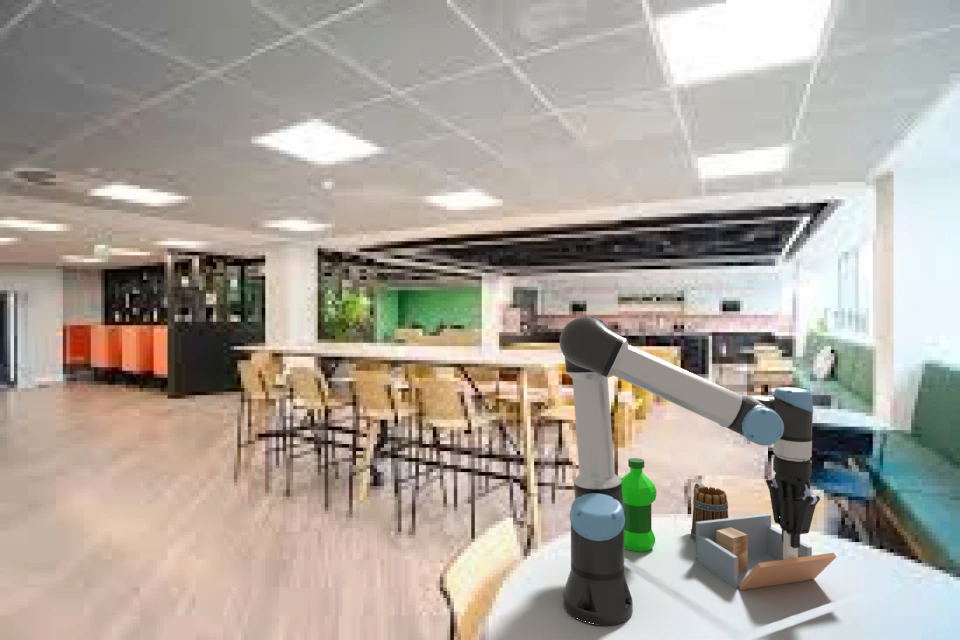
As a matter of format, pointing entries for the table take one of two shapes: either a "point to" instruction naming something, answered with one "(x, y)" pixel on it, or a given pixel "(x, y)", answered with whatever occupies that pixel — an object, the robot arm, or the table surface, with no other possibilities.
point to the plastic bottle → (638, 507)
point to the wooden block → (734, 545)
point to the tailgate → (786, 571)
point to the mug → (708, 505)
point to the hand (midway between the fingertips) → (790, 559)
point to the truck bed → (760, 546)
